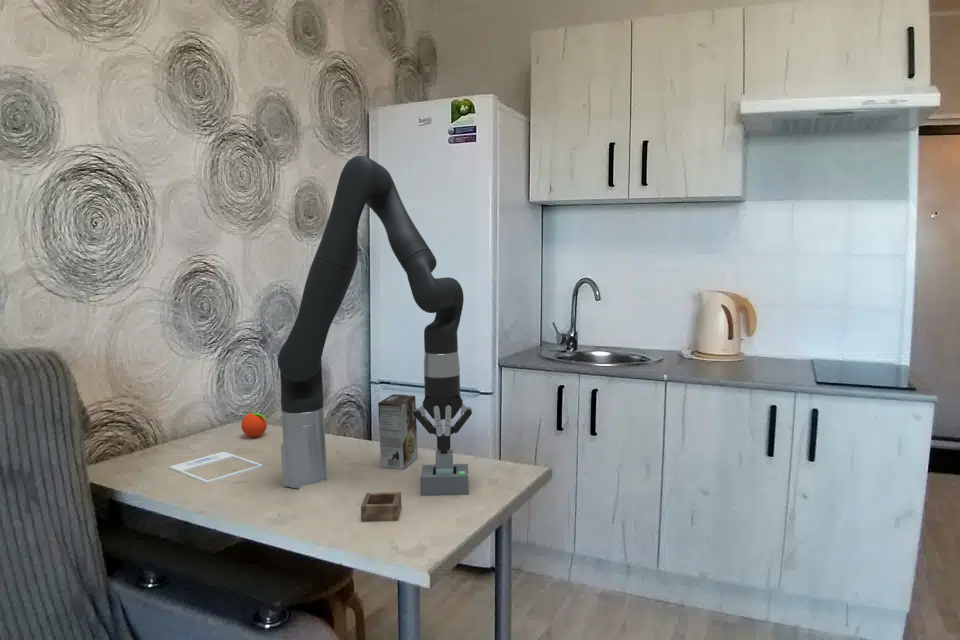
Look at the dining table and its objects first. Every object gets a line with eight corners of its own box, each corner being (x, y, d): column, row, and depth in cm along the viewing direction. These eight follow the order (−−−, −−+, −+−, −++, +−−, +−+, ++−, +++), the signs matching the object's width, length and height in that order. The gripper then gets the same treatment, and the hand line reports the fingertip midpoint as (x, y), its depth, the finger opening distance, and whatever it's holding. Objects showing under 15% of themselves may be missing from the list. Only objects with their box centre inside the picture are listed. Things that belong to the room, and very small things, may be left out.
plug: (436, 491, 148) (435, 455, 147) (437, 485, 151) (436, 450, 150) (453, 491, 148) (452, 454, 147) (453, 485, 152) (452, 449, 151)
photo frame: (223, 450, 181) (262, 464, 170) (224, 454, 181) (263, 468, 170) (169, 465, 170) (206, 481, 159) (169, 470, 170) (206, 485, 159)
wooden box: (361, 526, 133) (360, 506, 133) (367, 512, 140) (366, 493, 140) (398, 525, 133) (397, 505, 133) (401, 511, 140) (400, 492, 140)
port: (420, 500, 146) (420, 475, 145) (423, 486, 154) (422, 463, 153) (468, 499, 146) (467, 474, 145) (468, 485, 154) (467, 461, 153)
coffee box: (395, 456, 176) (392, 393, 174) (418, 457, 174) (416, 394, 172) (379, 467, 167) (377, 402, 165) (404, 469, 165) (401, 403, 163)
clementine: (275, 434, 198) (274, 410, 197) (260, 441, 191) (258, 416, 190) (252, 432, 200) (251, 408, 200) (236, 439, 194) (234, 414, 193)
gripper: (408, 376, 143) (411, 458, 145) (473, 375, 143) (475, 456, 145) (411, 369, 150) (414, 447, 152) (472, 368, 150) (474, 445, 153)
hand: (444, 451), depth 149 cm, fingers closed
